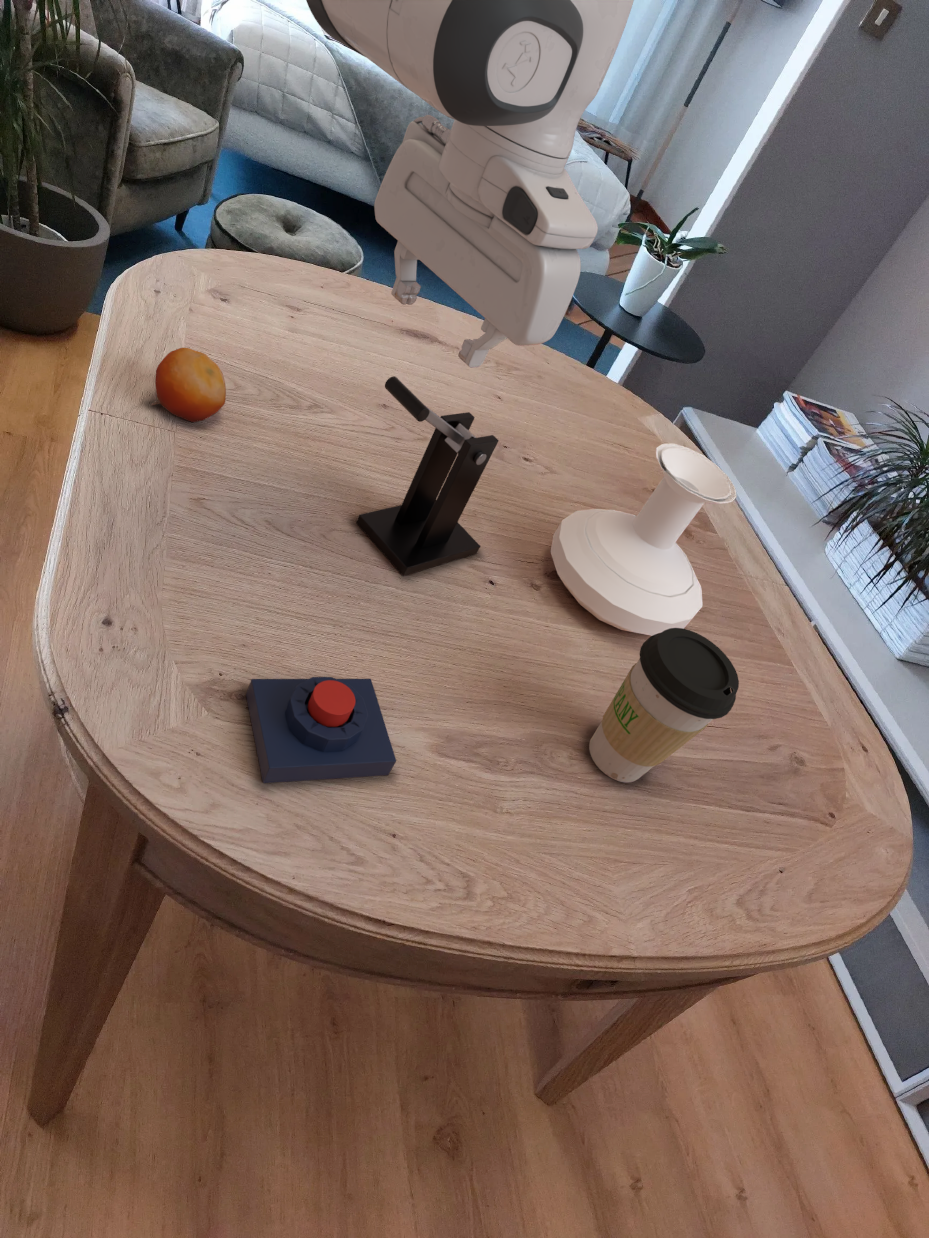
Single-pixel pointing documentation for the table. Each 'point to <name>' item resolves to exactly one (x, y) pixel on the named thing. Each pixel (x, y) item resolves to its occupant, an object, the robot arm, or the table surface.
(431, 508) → the bracket
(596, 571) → the candle holder
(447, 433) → the lever
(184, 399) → the fruit
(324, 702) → the button
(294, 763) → the control block
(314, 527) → the table surface
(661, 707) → the coffee cup
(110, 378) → the table surface
